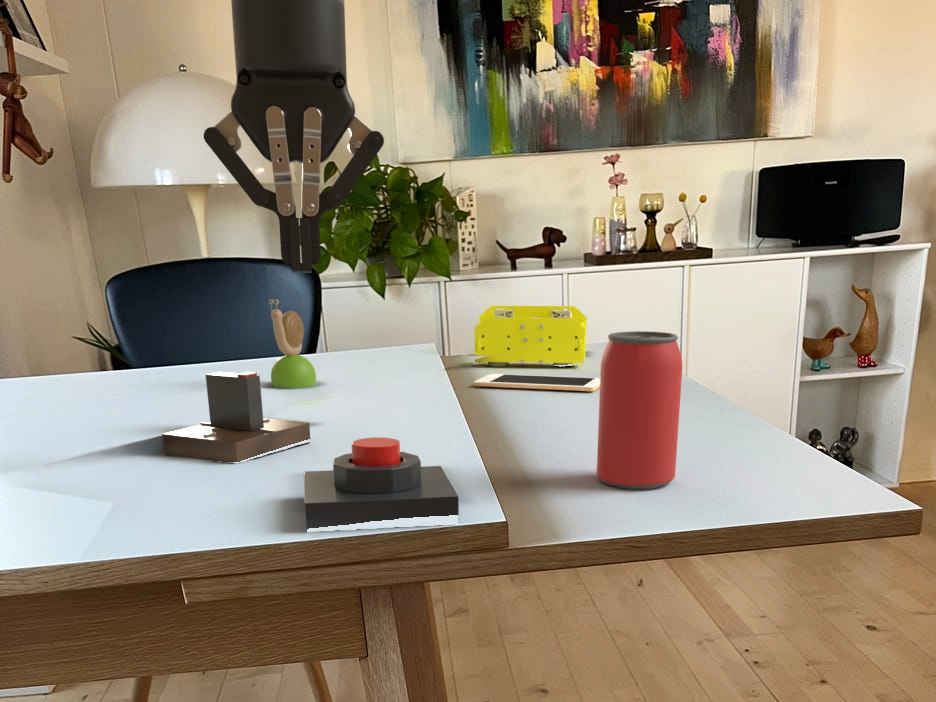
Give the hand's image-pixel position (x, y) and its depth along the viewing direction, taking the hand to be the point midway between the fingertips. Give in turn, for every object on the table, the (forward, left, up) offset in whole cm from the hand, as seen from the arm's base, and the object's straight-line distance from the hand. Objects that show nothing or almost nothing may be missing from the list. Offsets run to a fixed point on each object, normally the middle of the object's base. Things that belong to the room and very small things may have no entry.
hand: (301, 271), depth 76 cm
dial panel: (+13, +19, -17) cm, 29 cm away
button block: (0, -6, -17) cm, 18 cm away
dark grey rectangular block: (+13, +19, -15) cm, 27 cm away
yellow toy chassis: (+79, +20, -17) cm, 83 cm away
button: (0, -6, -14) cm, 15 cm away
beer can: (+18, -20, -17) cm, 32 cm away
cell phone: (+62, +10, -17) cm, 65 cm away
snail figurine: (+38, +32, -17) cm, 52 cm away
